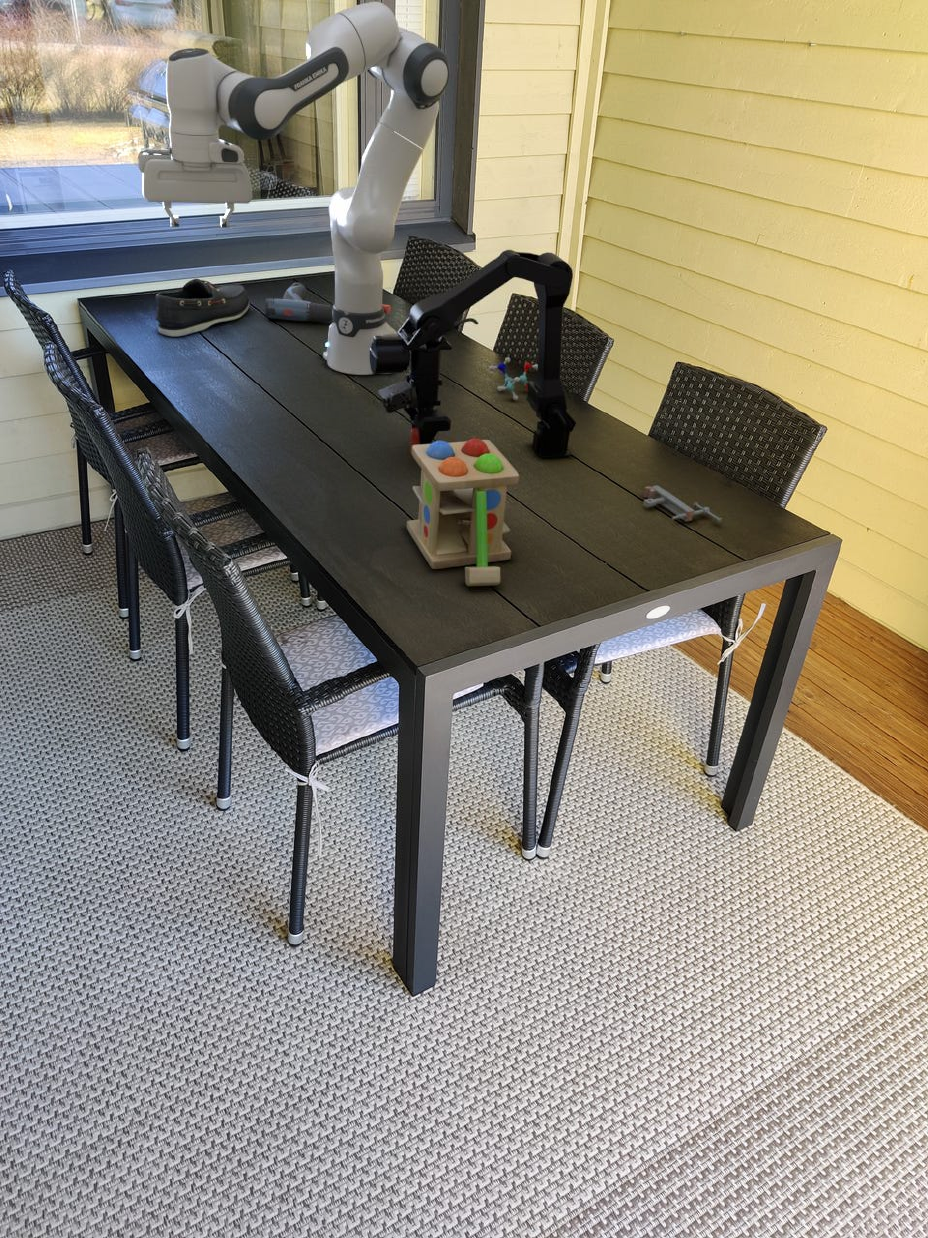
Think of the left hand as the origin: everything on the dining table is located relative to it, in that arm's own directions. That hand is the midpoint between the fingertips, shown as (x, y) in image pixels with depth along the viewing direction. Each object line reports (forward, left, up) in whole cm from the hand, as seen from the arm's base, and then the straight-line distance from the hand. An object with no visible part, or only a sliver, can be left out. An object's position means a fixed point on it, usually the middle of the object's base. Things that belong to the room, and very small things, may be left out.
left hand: (200, 226), depth 190 cm
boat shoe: (-44, -35, -36) cm, 67 cm away
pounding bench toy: (+28, +74, -36) cm, 87 cm away
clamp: (-9, +101, -36) cm, 107 cm away
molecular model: (-46, +51, -36) cm, 78 cm away
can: (-2, +49, -35) cm, 61 cm away
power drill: (-66, -18, -36) cm, 77 cm away
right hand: (-2, +49, -34) cm, 60 cm away
